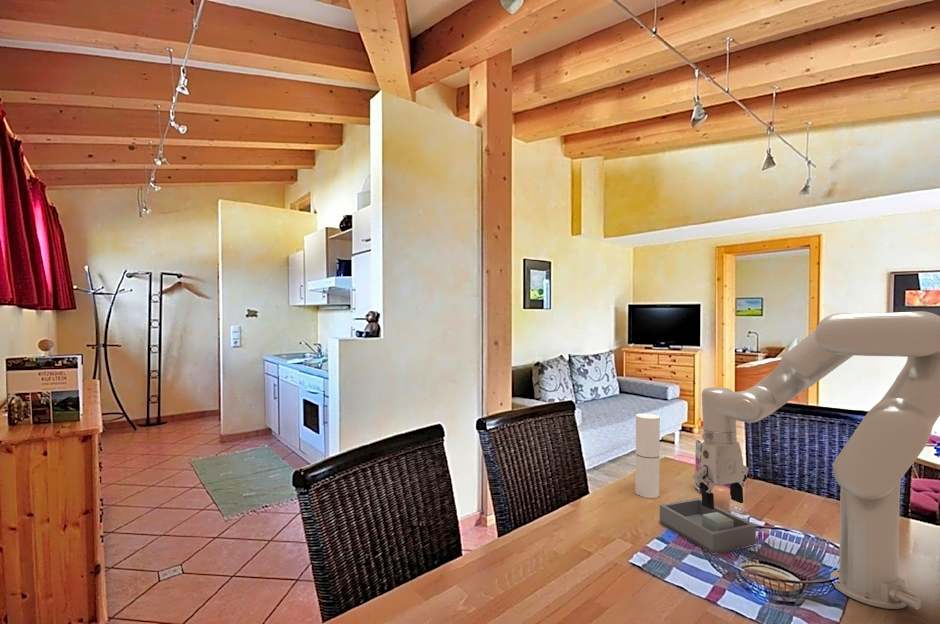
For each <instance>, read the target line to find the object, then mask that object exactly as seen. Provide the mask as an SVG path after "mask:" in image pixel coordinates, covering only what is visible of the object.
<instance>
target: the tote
mask: <svg viewBox="0 0 940 624" xmlns="http://www.w3.org/2000/svg"><path fill="white" fill-rule="evenodd" d="M714 512H718V513H720V514H722V515H724V516H726V517H728V518H730V519H732V520H734V526H733V528H729V529H724V530H719V531H714V532H712V531H710V530H709V529H707V528H705V527H703V526H702V515H703V514H709V513H714ZM659 524H661V525H663V526H664V527H666V528H667V529H669V530H671V531H672V532H674V533H675V534H678V536H679V535H680V537H682V538H684V539H686V540H687V541H689V542H691V543H692V544H694V545H696V546H697V547H699V546H701V547H702V548H704V549H706V550H707V551H709V552H711V553H713V554H714V553H719V554H724V553H727V552H731V551H732V550H733V551H736V550H735V549H737V550H741V549H740V548H742V547H746V546H749V545H754V544H756V542H757V541H756V539H757V536H756V535H757V529H756V528H757V525H755V524H753V523H751V522H749V521H747V520H745V519H743V518H741V517H738V516H736V515H735V514H732V513H731V512H730V513H729V512H727V511H724V510H722V509H720V508H718V507H716V506H714V509H709V508H707V507H705V506H703V505H702V498H699V497H698V498H691V499H688V500H687V499H685V500H680V501H674V502H668V503H663V504H659ZM756 545H757V544H756ZM702 548H701V549H702ZM738 548H739V549H738ZM746 548H747V547H746ZM704 549H703V550H704ZM742 549H743V548H742ZM707 551H706V552H707ZM709 552H708V553H709ZM723 552H724V553H723Z"/></svg>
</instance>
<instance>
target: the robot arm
mask: <svg viewBox="0 0 940 624" xmlns="http://www.w3.org/2000/svg"><path fill="white" fill-rule="evenodd" d="M854 356H862V357H863V356H864V357H900V358H901V357H903V358H907V360H906V363H905V364H904V366H903V368H902V369H901V371H900V372H899V373H898V375H897V376H896V378H895V380H894V382H893V383H892V385H891V386H890V388H889V389H888V390H887V392H886V393H885V395H884V396H883V397H882V398H881V399H880V401H878V403H876V404H875V405H874V406H873V407H872V408H871V409H870V410H868V411H867V413H866V414H865V415H864V417H863V418H862V420H861V422H860V423H859V425H858V426H857V428H856V429H855V430H854V432H853V434H852V435H851V436H850V438H849V439H848V441H847V442H846V444H845V445H844V446H843V448H842V449H841V451H840V452H839V453H838V455H837V457H835V460H834V462H833V465H832V470H833V471H832V472H833V476H834V478H835V482H837V485H839V487H840V495H839V498H840V500H839V502H840V503H839V559H838V560H839V568H838V569H835V570H833V571H832V572H831V573H830V574H829V579H830V578H833V577H839V579H838V581H837V583H835V587H834V588H835V589H836V590H837V591H839V592H841V594H843V595H845V596H847V597H849V598H851V599H853V600H856V601H857V602H861V603H863V604H866V605H869V606H873V607H877V608H880V609H888V610H900V609H904V608H906V607H907V606H909V608H910V607H911V608H913V609H914V610H916V611H917V610H919V609H921V606H922V601H921V595H920V594H918V593H916V592H915V591H912V590H908V589H907V587H905V582H906V581H905V579H904V578H901V577H899V561H900V560H899V559H900V558H899V556H900V555H899V550H900V549H899V546H900V544H899V543H900V542H899V541H900V506H901V505H900V500H901V499H900V498H901V485H902V484H901V483H902V481H901V480H902V479H903V477H904V475H905V474H906V473H907V472H908V471H909V469H910V468H911V466H912V465H913V464H914V462H915V461H916V460H917V459H918V457H919V456H920V455H921V454H922V452H923V450H924V449H925V447H926V446H927V445H928V442H929V441H930V439H931V435H932V431H933V427H934V425H935V424H936V422H937V421H938V419H939V417H940V315H937V314H936V313H933V312H929V311H921V310H918V311H901V312H900V311H897V312H895V311H894V312H874V313H873V312H871V313H848V312H842V313H841V312H839V313H838V312H837V313H833V314H829V315H828V316H825V317H824V318H823V319H821V320H820V322H818V324H817V325H816V327H815V330H813V331H812V332H811V333H810V334H808V336H806V337H805V338H804V339H802V340H801V341H800V342H799V343H797V344H796V345H795V346H793V347H792V348H791V349H789V350H788V351H787V352H785V354H784V355H782V357H781V359H780V361H779V363H778V365H776V367H775V368H774V369H772V371H771V372H770V373H769V374H767V375H766V376H764V378H762V379H761V380H760V381H758V382H756V384H755V385H753V386H752V387H749V388H747V389H744V390H740V391H733V390H732V389H729V388H727V387H715V386H713V387H706V388H704V389H702V392H701V405H702V408H701V410H702V433H703V434H702V435H701V438H702V440H704V442H703V443H702V450H701V469H700V470H699V471H697V472H696V473H694V474H693V475H692V478H693V480H694V483H695V482H696V485H697V486H698V487H699V489H700V490H701V492H702V493H701V499H702V505H703V506H705V507H707V508H709V509H714V495H713V493H711V491H712V490H713V488H714V486H715V485H718V486H721V485H727V484H731V485H730V488H731V495H730V500H732V501H734V502H737V503H740V504H743V503H744V489H743V488H744V487H745V485H746V483H745V482H746V480H747V478H748V473H749V470H750V469H749V467H748V466H746V465H744V460H743V459H744V458H743V455H742V454H743V453H742V449H741V444H740V443H739V441H738V440H737V437H738V436H737V421H739V422H743V423H748V424H749V423H750V424H751V423H752V424H753V423H756V422H759V421H761V420H763V419H765V418H766V417H769V416H770V415H772V414H773V413H774V412H776V411H778V410H779V409H780V408H781V407H783V406H784V405H786V404H787V403H788V402H789V401H791V400H793V399H794V398H795V397H796V396H798V395H800V393H802V392H803V391H805V390H806V389H809V388H811V387H813V386H814V385H815V384H816V383H817V382H819V381H820V380H822V379H823V378H825V377H826V376H827V375H829V374H830V373H831V372H833V371H834V370H836V369H837V368H838V367H840V366H841V365H842V364H843V363H845V362H847V361H848V360H849V359H851V358H852V357H854ZM702 479H703V481H702ZM707 483H709V485H708V487H707V486H706V485H707ZM732 483H733V484H732Z"/></svg>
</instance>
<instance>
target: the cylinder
mask: <svg viewBox="0 0 940 624" xmlns="http://www.w3.org/2000/svg"><path fill="white" fill-rule="evenodd" d="M711 493H713V495H714V506H716V507H718V508H720V509H722V510H724V511H727V512H729V513H731V495H730V489H729V488H728V487H726V486H722V485H721V486H718V485H715V486H714V488H713V490H712V491H711Z"/></svg>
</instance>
